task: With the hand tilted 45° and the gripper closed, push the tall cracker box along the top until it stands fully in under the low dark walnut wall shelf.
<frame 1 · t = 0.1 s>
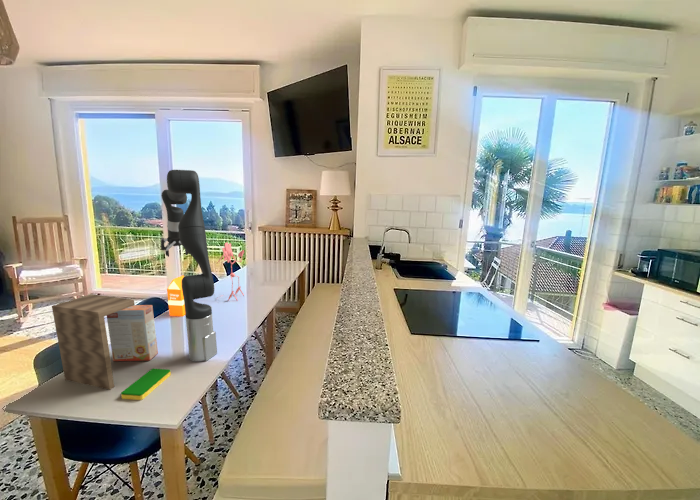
hand: (177, 255, 160), 31 cm above the table, tool tilted 20°, fingers open, 8 cm apart
figurine: (230, 298, 187), on the table
dish sponge: (148, 387, 102), on the table
orange juice: (181, 313, 163), on the table
cracker box: (136, 357, 119), on the table
walnut shelf: (105, 374, 107), on the table
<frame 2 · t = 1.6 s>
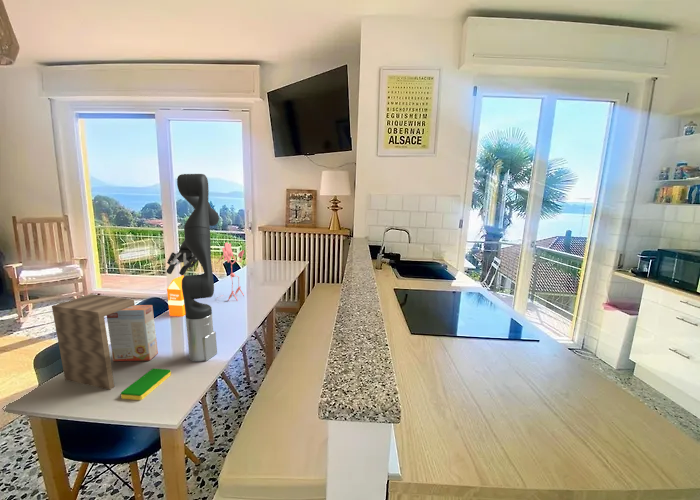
hand: (174, 273, 135), 28 cm above the table, tool tilted 45°, fingers open, 6 cm apart
nothing on the table moved.
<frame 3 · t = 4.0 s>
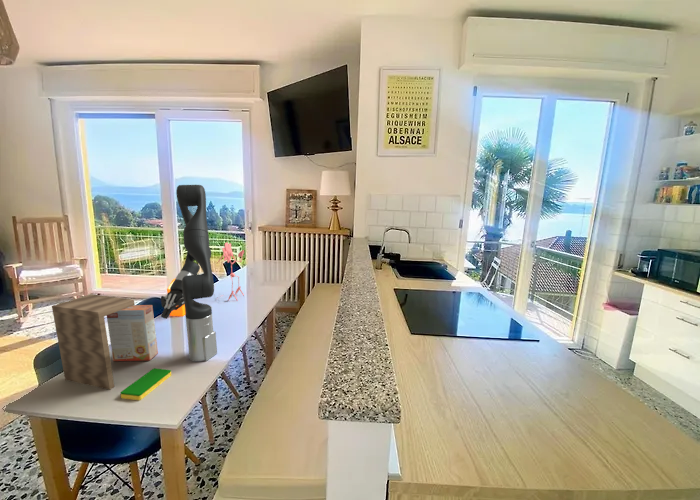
hand: (163, 317, 130), 11 cm above the table, tool tilted 45°, fingers closed
nothing on the table moved.
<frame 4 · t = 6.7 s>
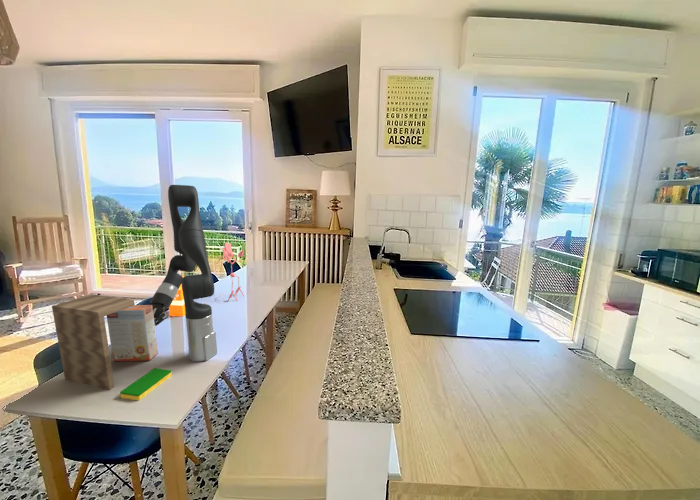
hand: (142, 334, 121), 8 cm above the table, tool tilted 45°, fingers closed
cracker box: (136, 357, 119), on the table, touching gripper
everything else where it was.
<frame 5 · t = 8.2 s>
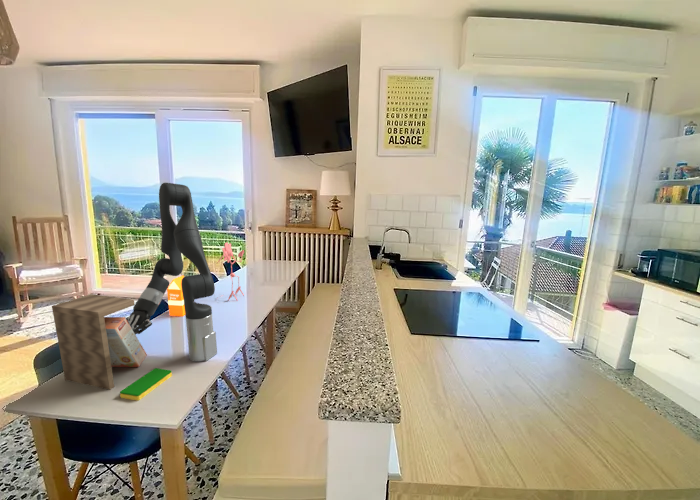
hand: (124, 343, 114), 8 cm above the table, tool tilted 45°, fingers closed
cracker box: (125, 360, 114), point 1 cm above the table, touching gripper, walnut shelf
everything else where it was.
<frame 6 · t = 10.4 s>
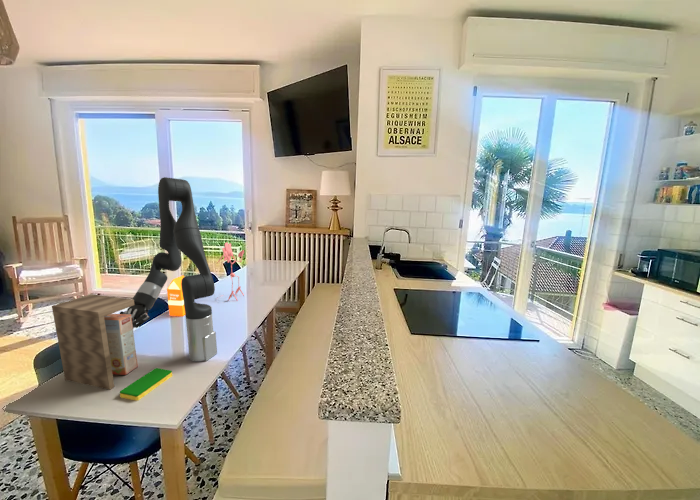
hand: (121, 337, 112), 11 cm above the table, tool tilted 45°, fingers closed
cracker box: (114, 370, 110), on the table
everything else where it was.
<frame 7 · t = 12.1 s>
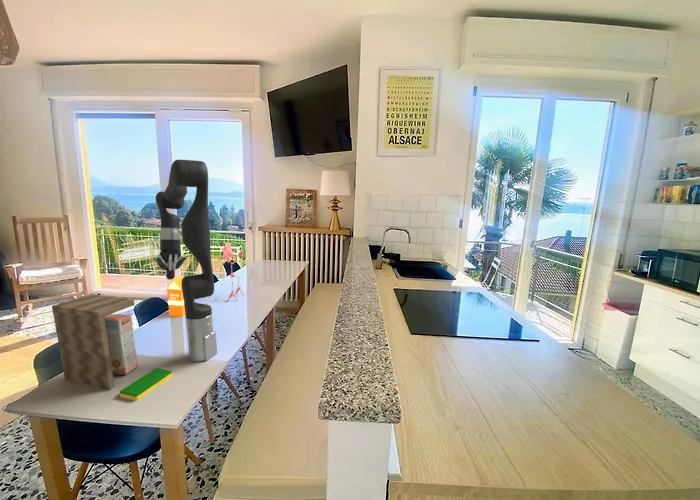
hand: (170, 279, 129), 27 cm above the table, tool pointing down, fingers closed
nothing on the table moved.
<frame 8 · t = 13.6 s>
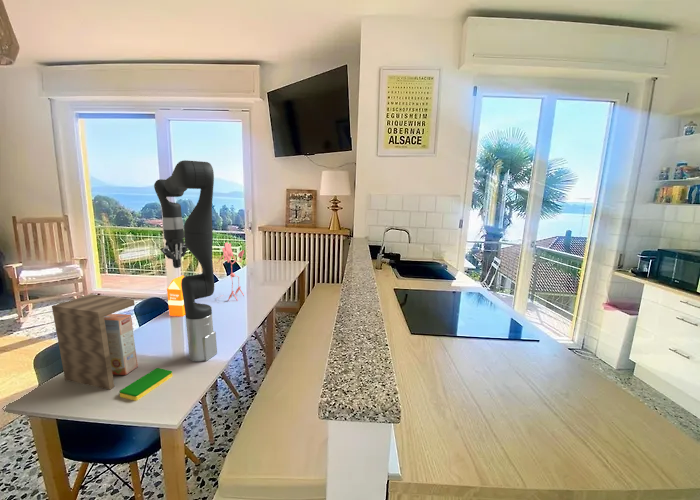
hand: (177, 267, 131), 32 cm above the table, tool pointing down, fingers closed
nothing on the table moved.
at the end: cracker box inside the target area (2.6 cm from its centre), on the table; cracker box tilted 0° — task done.
